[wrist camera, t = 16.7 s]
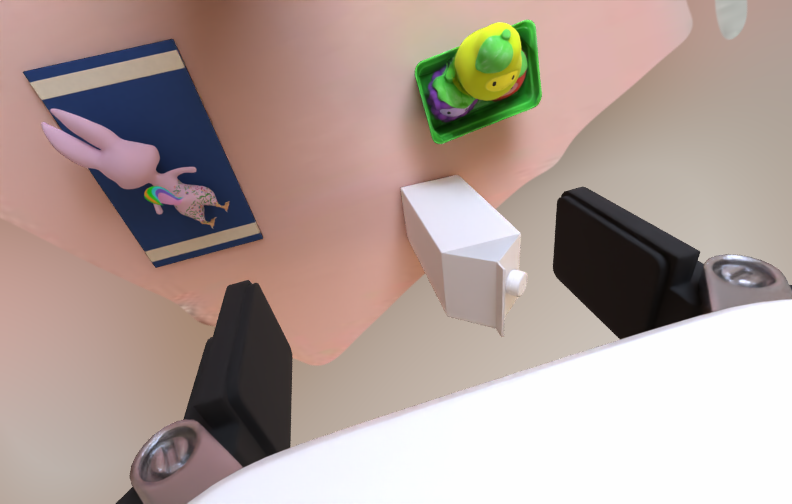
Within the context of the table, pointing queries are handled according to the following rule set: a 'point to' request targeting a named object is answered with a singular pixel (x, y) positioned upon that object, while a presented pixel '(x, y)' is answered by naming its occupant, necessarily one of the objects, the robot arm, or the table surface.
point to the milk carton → (464, 250)
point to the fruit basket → (480, 80)
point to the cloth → (154, 144)
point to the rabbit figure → (129, 165)
